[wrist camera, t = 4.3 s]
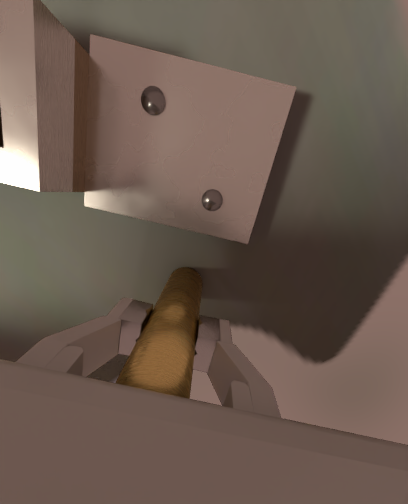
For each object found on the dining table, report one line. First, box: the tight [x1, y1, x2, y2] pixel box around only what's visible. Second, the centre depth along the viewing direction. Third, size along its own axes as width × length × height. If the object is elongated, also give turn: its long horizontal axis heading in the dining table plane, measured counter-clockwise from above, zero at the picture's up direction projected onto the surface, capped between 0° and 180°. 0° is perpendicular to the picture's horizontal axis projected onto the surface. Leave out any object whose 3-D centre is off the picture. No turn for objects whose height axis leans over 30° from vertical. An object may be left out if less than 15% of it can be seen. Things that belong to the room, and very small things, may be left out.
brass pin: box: [116, 267, 202, 399], centre depth 9 cm, size 2×2×9 cm
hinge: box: [0, 0, 296, 244], centre depth 9 cm, size 26×8×4 cm, turn 77°
